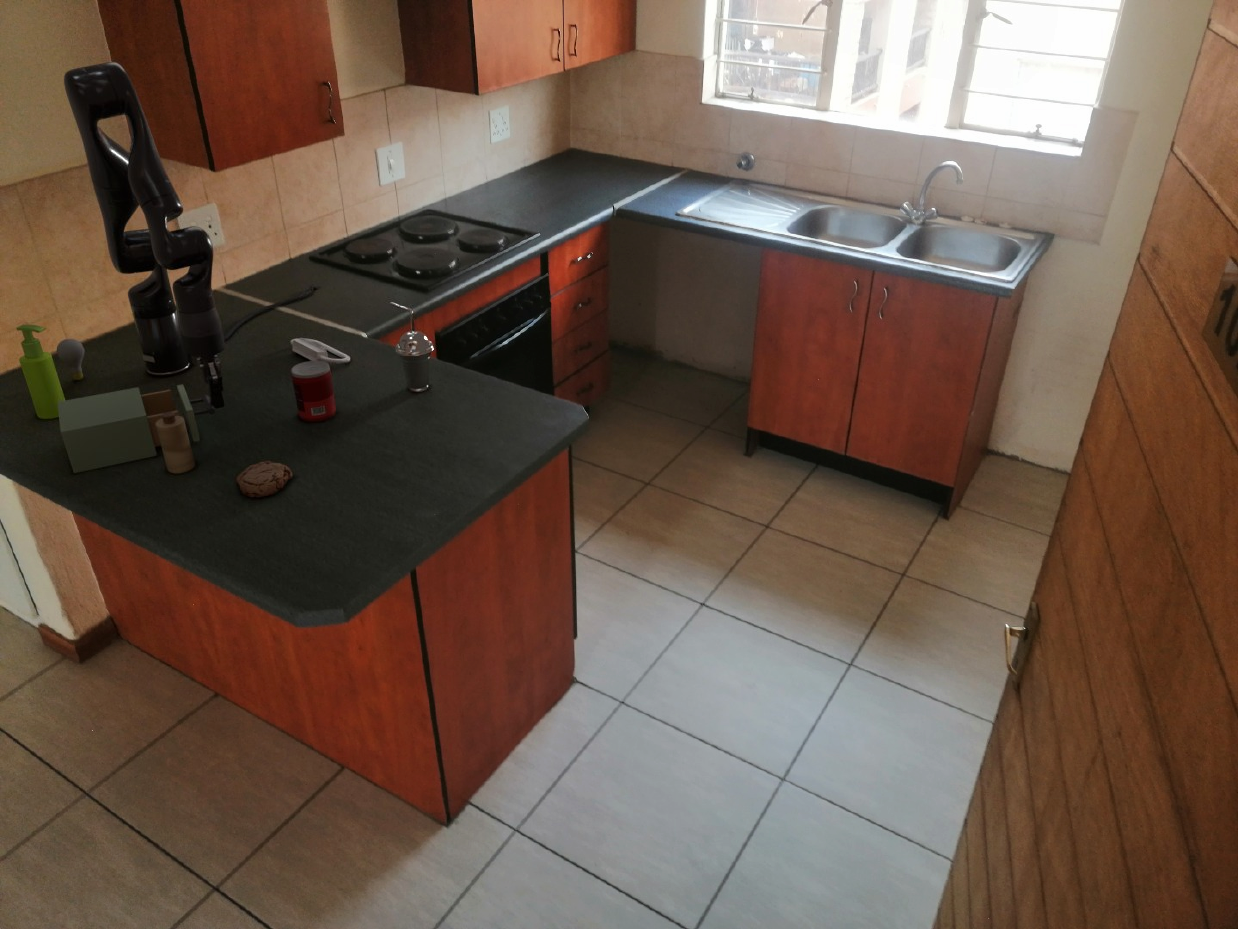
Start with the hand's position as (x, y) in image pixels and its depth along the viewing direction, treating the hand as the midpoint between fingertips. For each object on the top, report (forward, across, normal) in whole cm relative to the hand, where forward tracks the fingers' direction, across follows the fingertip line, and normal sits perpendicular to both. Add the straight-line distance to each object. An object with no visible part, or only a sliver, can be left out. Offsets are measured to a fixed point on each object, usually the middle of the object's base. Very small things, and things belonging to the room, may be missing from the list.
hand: (218, 406), depth 196 cm
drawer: (+4, 0, +10) cm, 11 cm away
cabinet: (+4, 0, +21) cm, 22 cm away
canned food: (+5, -4, -19) cm, 20 cm away
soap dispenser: (+5, +24, +30) cm, 39 cm away
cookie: (+5, -29, -3) cm, 30 cm away
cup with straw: (+5, -2, -42) cm, 43 cm away
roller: (+4, -14, +10) cm, 18 cm away
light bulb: (+5, +40, +25) cm, 48 cm away
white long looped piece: (+5, +28, -28) cm, 39 cm away
